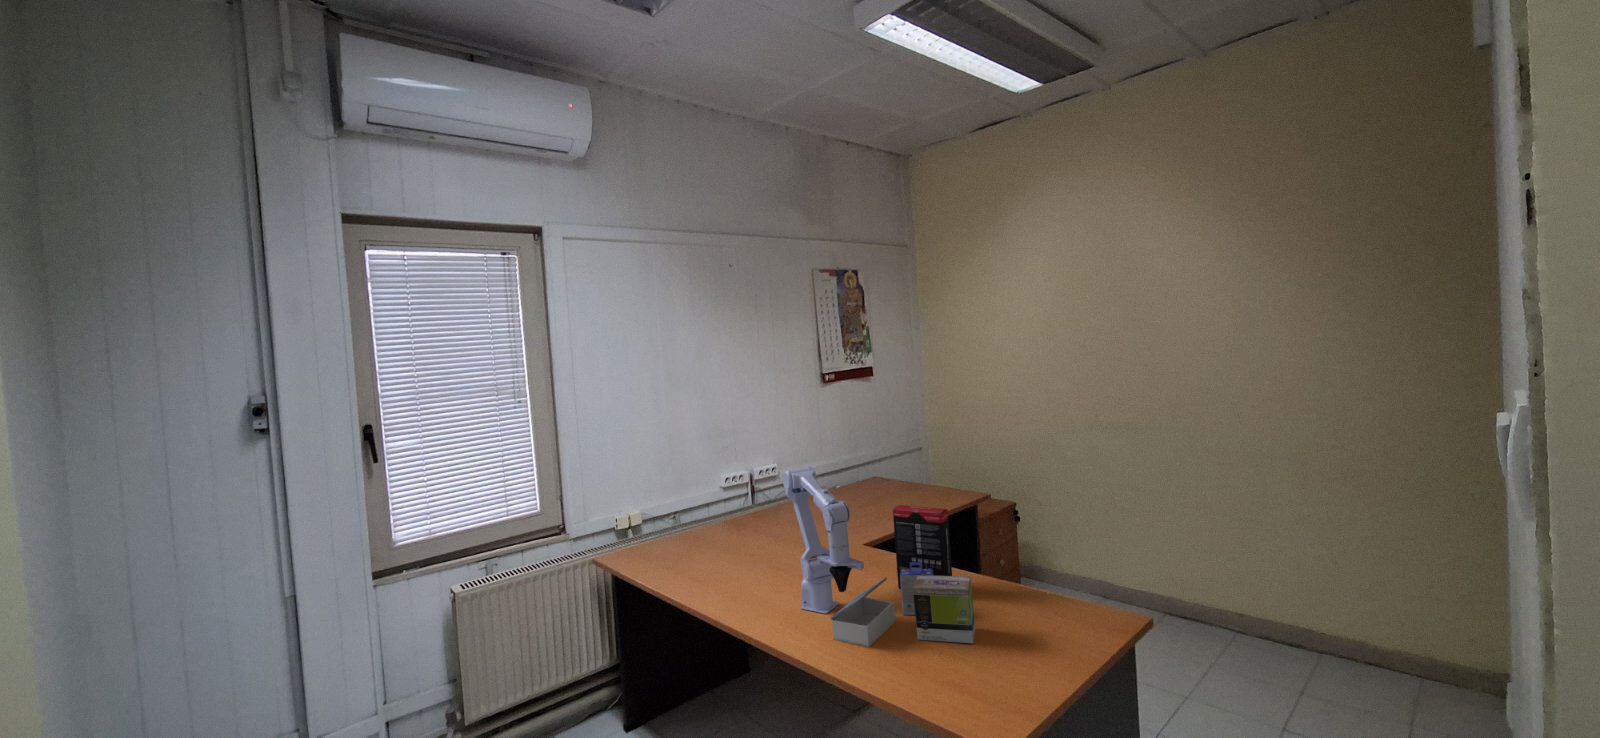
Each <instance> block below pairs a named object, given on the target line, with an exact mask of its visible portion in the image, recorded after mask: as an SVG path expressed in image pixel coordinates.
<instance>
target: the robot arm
mask: <svg viewBox="0 0 1600 738" xmlns="http://www.w3.org/2000/svg"><path fill="white" fill-rule="evenodd" d="M782 483H783V484H782V485H783V488H784V490H785V491H784V492H785V494H786V496H787V499H790V500H791V501H792V504H793V508H794V512H795V514H796V518H797V522H798V525H799V529H800V533H801V537H802V540H803V543H804V547H805V551H804V552H803V553H802V555H801V556H800V560H799V561H800V566H801V575H802V576H803V579H802V581H801V584H800V594H801V605H802V606H800V609H801V610H805V611H811V612H816V613H821V614H824V615H825V614H828V613H829V612H831V611H832V610H833V609H834V608H836V607H837V606H838V605H840V603H839V602H838V601H834V599H833V586H832V579H834V581H835V583H836V586H837V589H838V592H840V593H844V592H845V591H847V586H848V581H849V576H850V574H851V572H852V569H855V570H856V569H857V570H858V571H862V570H864V569H865V563H864V561H863V560H859V559H856V558H853V557H850V555H851V554H850V545H849V533H848V521H849V520H850V518H851V511H850V507H849V506H848V504H847V502H846V501H844V500H838V499H837V498H836V497H835V495H833V494H832V493H831V491H830V490H829V489H827V488H823V487H822V486H821V484H820V483H819V482H818V481H817V474H816V471H815V469H814V467H812V466H808V467H803V468H797V469H792V470H784V472H783V475H782ZM810 495H811V496H812V497H813V504H815V505H816V507H817V508H818V509H819V510H820V512H822V518H823V521H824V524H825V530H826V531H827V535H828V548H826V547H825V546H822V544H821V541H820V537H819V534H818V531H817V527H816V523H815V520H814V516H813V513H812V509H811V506H810V503H809V499H808V498H809V496H810Z"/></svg>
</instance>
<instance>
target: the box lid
mask: <svg viewBox="0 0 1600 738" xmlns="http://www.w3.org/2000/svg"><path fill="white" fill-rule="evenodd" d="M887 580H888V577H885V578H883V579H881V580H879V581H878V582H876V583H875V584H873V585H872V586H870V587H869V588H867V589H865V590H864V591H862V592H861V593H859V594H858V595H857V596H856V597H855V598H852V600H851V601H849V602H848V603H847V604H845V606H843V607H842V608H841V609H840V610H839V611H837V612H836V613H834V614H833V615H832V616H831V617H829V618H830V620H831V621H832V619H834V618H835V617H837V616H839V615H840V614H842V613H843V612H845V611H846V610H848V609H850V608H851V607H853V606H854V605H856V604H858V603H859V602H860V601H862V600H863V599H864V598H865V597H868V596H869V595H870V594H871V593H872V592H873V591H875V590H876V589H878V587H880V586H881V585H882V584H884V582H886V581H887Z"/></svg>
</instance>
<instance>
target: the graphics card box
mask: <svg viewBox="0 0 1600 738" xmlns="http://www.w3.org/2000/svg"><path fill="white" fill-rule="evenodd" d="M892 518H893V530H894V543H895V545H894V546H895V556H896V558H895V560H896V575H897V586H898V587H897V588H898V589H900V590H901V584H900V571H901V570H905V569H910V562H922V569H932V570H933V575H934V576H953V568H952V567H953V566H952V556H951V555H952V554H951V553H952V551H951V541H950V537H951V536H950V527H949V526H950V525H949V523H950V522H949V509H947V508H938V507H925V506H916V505H915V506H914V505H906V504H905V505H903V504H899V505H896V506H895V507H894V508H893V509H892ZM912 567H920V565H912Z"/></svg>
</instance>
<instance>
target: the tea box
mask: <svg viewBox="0 0 1600 738" xmlns="http://www.w3.org/2000/svg"><path fill="white" fill-rule="evenodd" d="M971 579H972V578H971V576H966V575H965V576H964V575H961V576H960V575H959V576H958V575H952V576H934V575H918V576H917V578H916V581H915V584H914V586H913V597H914V608H915V615H914V619H915V628H916V638H917V640H918V641H920V640H921V641H931V642H932V641H934V642H935V641H936V642H948V643H949V642H950V643H962V644H974V642H975V632H976V631H975V630H976V628H975V627H976V622H975V609H974V599H973V588H972V580H971Z"/></svg>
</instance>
